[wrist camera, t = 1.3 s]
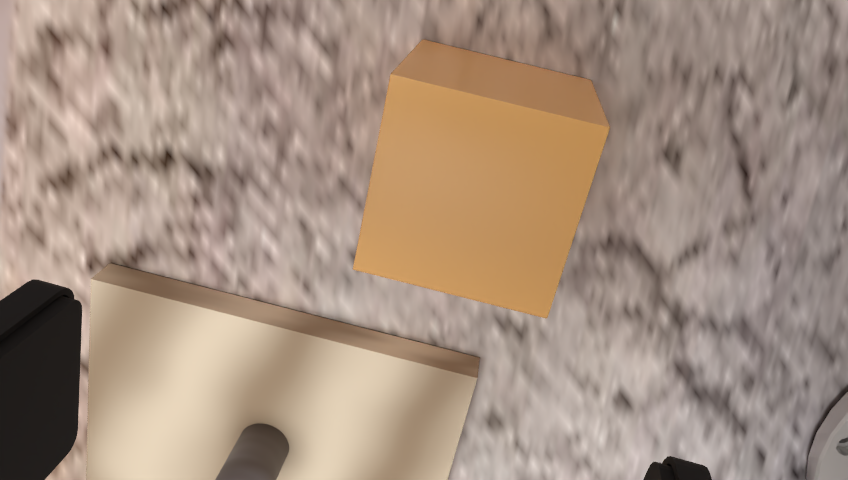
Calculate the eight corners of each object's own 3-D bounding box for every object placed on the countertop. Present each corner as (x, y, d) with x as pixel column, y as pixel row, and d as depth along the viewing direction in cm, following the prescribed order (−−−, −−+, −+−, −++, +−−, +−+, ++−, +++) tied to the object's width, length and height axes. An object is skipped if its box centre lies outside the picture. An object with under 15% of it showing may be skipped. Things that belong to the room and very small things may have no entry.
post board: (479, 357, 30) (468, 453, 25) (420, 562, 35) (399, 679, 30) (110, 263, 31) (20, 336, 25) (102, 477, 36) (25, 577, 30)
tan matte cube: (590, 79, 25) (609, 127, 19) (543, 234, 28) (547, 318, 22) (422, 39, 25) (390, 73, 20) (390, 196, 28) (352, 269, 22)
